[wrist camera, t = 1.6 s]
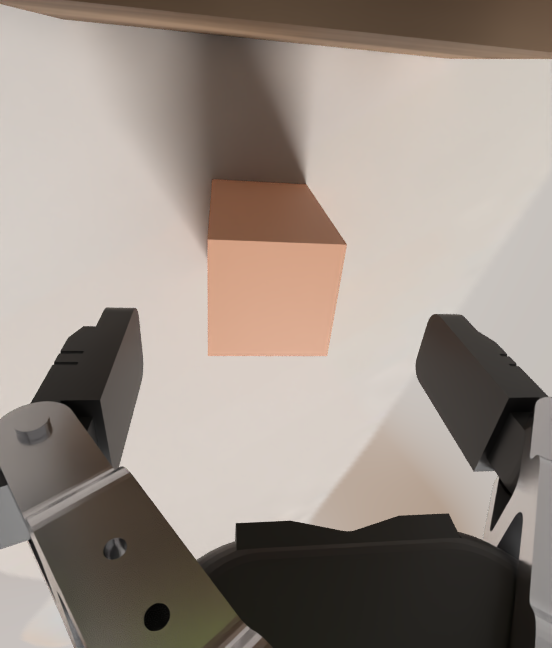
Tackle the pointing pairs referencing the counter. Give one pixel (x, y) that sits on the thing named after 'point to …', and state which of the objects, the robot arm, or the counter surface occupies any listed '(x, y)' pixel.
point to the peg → (270, 270)
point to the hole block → (339, 22)
